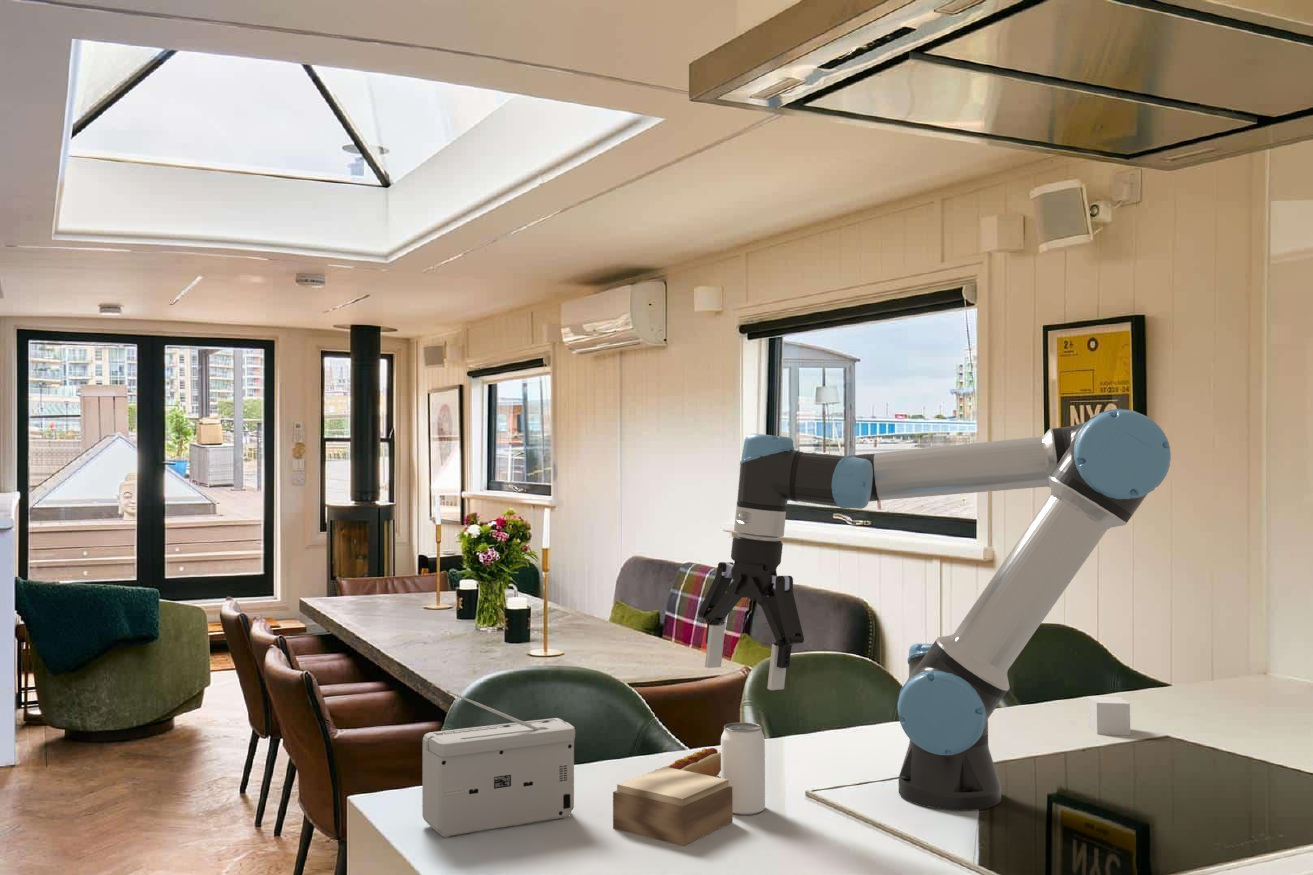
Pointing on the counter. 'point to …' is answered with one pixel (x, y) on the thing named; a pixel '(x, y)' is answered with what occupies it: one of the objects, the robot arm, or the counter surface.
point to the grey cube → (1109, 715)
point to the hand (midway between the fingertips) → (743, 677)
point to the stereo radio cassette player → (497, 774)
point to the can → (744, 766)
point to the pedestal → (672, 805)
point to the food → (700, 762)
